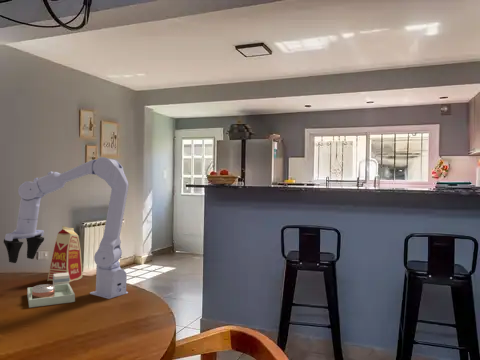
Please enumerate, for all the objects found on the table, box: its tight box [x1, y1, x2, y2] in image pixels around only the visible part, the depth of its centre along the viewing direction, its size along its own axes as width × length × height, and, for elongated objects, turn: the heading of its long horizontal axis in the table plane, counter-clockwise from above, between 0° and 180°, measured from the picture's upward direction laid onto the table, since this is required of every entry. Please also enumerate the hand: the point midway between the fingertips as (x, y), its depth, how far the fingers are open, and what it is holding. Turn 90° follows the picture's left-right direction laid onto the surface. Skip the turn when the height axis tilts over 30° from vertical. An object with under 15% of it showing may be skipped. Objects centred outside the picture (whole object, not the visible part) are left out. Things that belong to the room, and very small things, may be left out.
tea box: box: [52, 272, 70, 285], centre depth 129 cm, size 5×5×5 cm
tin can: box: [32, 283, 55, 299], centre depth 115 cm, size 6×6×4 cm
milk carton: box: [46, 225, 83, 283], centre depth 142 cm, size 9×9×20 cm
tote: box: [26, 283, 76, 308], centre depth 118 cm, size 14×12×2 cm
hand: (21, 260), depth 124 cm, fingers open, 7 cm apart
